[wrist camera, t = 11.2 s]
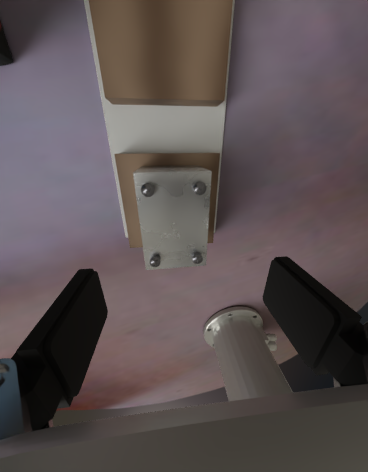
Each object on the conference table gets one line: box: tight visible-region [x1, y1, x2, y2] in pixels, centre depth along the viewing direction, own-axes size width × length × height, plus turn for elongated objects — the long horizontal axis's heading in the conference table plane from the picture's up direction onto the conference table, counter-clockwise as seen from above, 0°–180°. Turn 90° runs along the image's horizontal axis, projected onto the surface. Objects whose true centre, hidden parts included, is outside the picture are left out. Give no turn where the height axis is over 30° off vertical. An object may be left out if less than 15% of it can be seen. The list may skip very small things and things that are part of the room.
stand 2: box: [114, 153, 220, 248], centre depth 21 cm, size 11×11×3 cm
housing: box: [133, 165, 212, 270], centre depth 17 cm, size 6×9×7 cm, turn 1°
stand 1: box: [89, 0, 233, 107], centre depth 14 cm, size 11×11×3 cm
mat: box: [84, 0, 235, 237], centre depth 19 cm, size 26×13×1 cm, turn 0°
